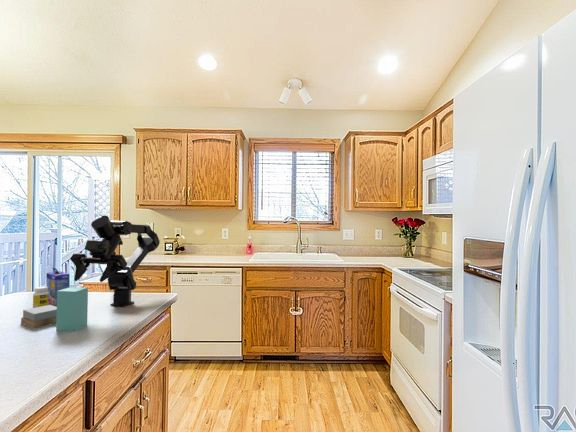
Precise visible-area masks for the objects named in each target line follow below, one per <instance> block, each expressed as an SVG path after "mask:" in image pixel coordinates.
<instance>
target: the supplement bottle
mask: <svg viewBox="0 0 576 432" xmlns="http://www.w3.org/2000/svg"><path fill="white" fill-rule="evenodd" d="M47 291H48V287H47V286H37V287H34V293H33V295H32V308H36V307H42V306H47V305H49V302H48V296H49V293H48V292H47Z"/></svg>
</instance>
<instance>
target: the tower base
mask: <svg viewBox="0 0 576 432" xmlns="http://www.w3.org/2000/svg"><path fill="white" fill-rule="evenodd" d="M56 318H57V317H53V318H49V319H44V320H40V321H35V322H33V321H31V320H28V319H26V318H23V316H22V317H20V324H22V325H24V326H27V328H28V327H29V328H31V329H38V328H41V327H46V325H47V326H51V325H55V324H56ZM50 324H51V325H50Z"/></svg>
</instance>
